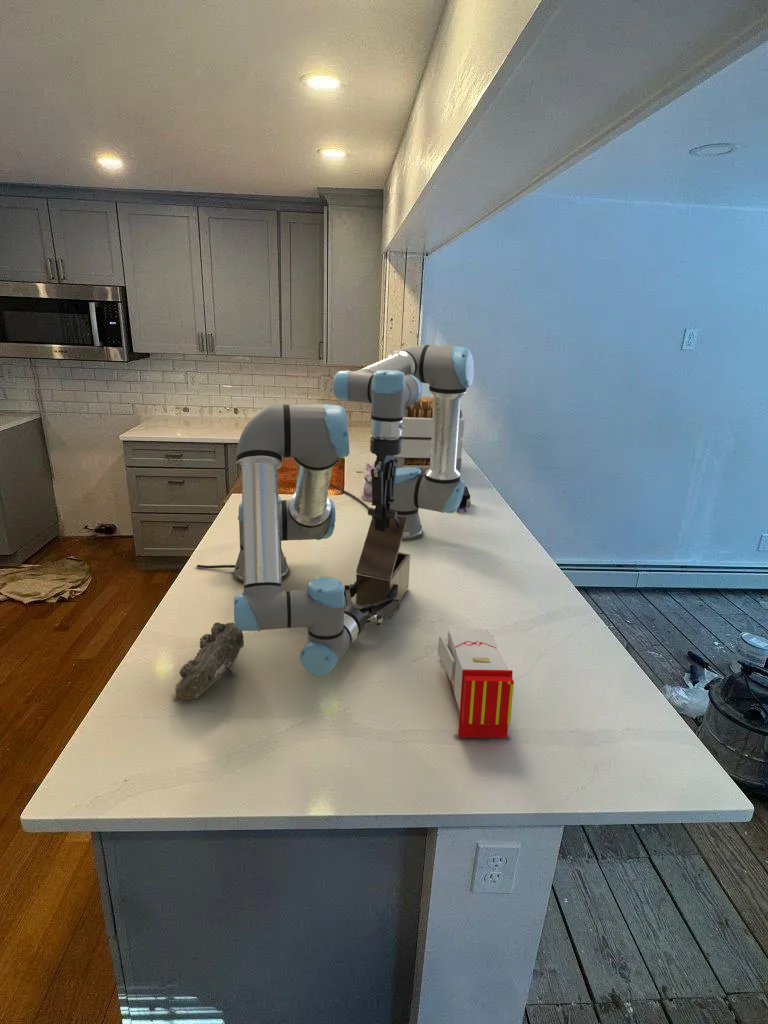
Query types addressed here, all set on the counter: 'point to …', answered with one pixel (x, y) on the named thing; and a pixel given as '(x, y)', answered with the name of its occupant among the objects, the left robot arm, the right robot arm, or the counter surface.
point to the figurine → (368, 483)
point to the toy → (478, 682)
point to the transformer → (421, 435)
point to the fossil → (210, 660)
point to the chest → (383, 583)
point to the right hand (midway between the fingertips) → (381, 528)
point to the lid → (382, 547)
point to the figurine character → (465, 500)
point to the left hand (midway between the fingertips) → (378, 585)
